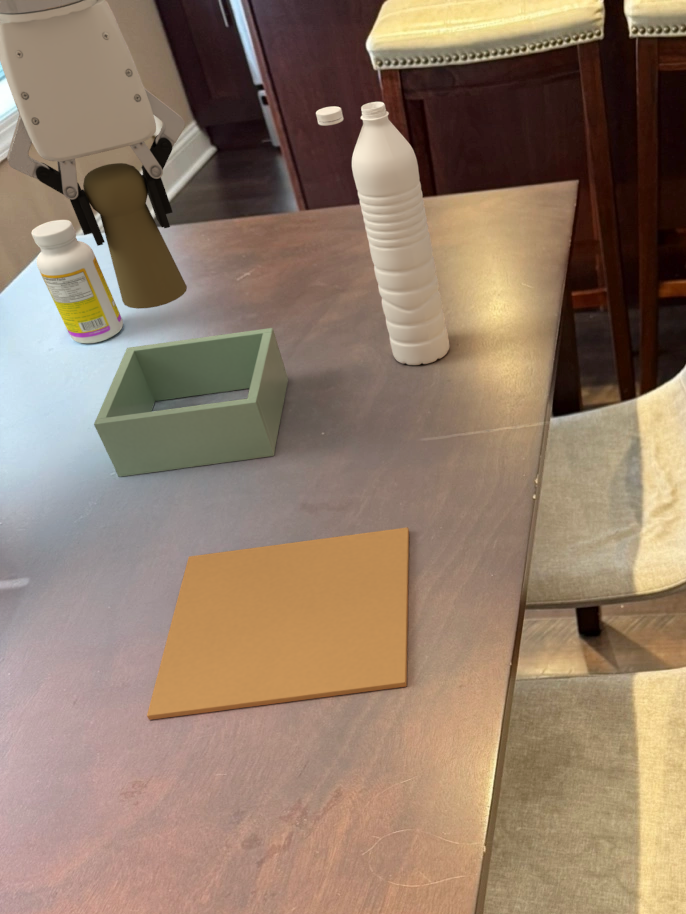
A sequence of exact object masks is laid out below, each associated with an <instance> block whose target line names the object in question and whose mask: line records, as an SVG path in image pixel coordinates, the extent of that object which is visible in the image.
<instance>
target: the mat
mask: <svg viewBox="0 0 686 914" xmlns="http://www.w3.org/2000/svg"><path fill="white" fill-rule="evenodd" d="M409 558H410V529H409V527H408V526H407V527H406V526H405V527H401V528H392V529H383V530H377V531H370V532H362V533H354V534H347V535H340V536H333V537H324V538H317V539H316V538H315V539H310V540H302V541H295V542H294V541H293V542H287V543H279V544H272V545H265V546H257V547H256V546H255V547H250V548H241V549H235V550H227V551H219V552H213V553H212V552H211V553H205V554H199V555H198V554H196V555H190V556H188V557H187V562H186V565H185V568H184V569H185V570H184V573H183V577H182V581H181V585H180V588H179V592H178V595H177V598H176V599H177V600H176V603H175V607H174V610H173V611H174V612H173V614H172V618H171V622H170V626H169V629H168V633H167V638H166V642H165V644H164V649H163V651H162V652H163V653H162V657H161V661H160V664H159V668H158V672H157V675H156V679H155V684H154V687H153V690H152V693H151V694H152V695H151V698H150V702H149V707H148V710H147V714H146V717H147V719H148V720H149V721H151V720H159V719H166V718H175V717H182V716H183V717H184V716H191V715H196V714H197V715H198V714H205V713H214V712H221V711H228V710H237V709H244V708H251V707H259V706H267V705H275V704H282V703H289V702H297V701H305V700H306V701H307V700H313V699H320V698H328V697H335V696H337V697H338V696H344V695H352V694H358V693H367V692H376V691H381V690H389V689H396V688H404V687H407V684H408V683H407V682H408V631H409V629H408V628H409V627H408V625H409V623H408V622H409V621H408V620H409V566H410V565H409V563H410V561H409V560H410V559H409Z"/></svg>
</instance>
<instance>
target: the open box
mask: <svg viewBox="0 0 686 914" xmlns="http://www.w3.org/2000/svg"><path fill="white" fill-rule="evenodd" d="M288 382H289V376H288V373H287V370H286V366H285V364H284V360H283V356H282V353H281V349H280V347H279V344H278V340H277V337H276V335H275V330H274V328H273V327H269V328H261V329H253V330H247V331H246V330H245V331H240V332H233V333H225V334H217V335H211V336H210V335H209V336H203V337H197V338H189V339H182V340H181V339H180V340H173V341H168V342H167V341H166V342H160V343H159V342H158V343H153V344H144V345H137V346H130V347H126V350H125V352H124V354H123V356H122V358H121V361H120V363H119V365H118V367H117V370H116V373H115V374H114V377H113V379H112V382H111V383H110V386H109V388H108V390H107V393H106V395H105V398H104V400H103V402H102V404H101V407H100V408H99V411H98V414H97V416H96V418H95V420H94V423H93V426H94V428H95V430H96V432H97V434H98V437H99V438H100V441H101V442H102V446H103V447H104V449H105V451H106V453H107V456H108V457H109V459H110V462H111V464H112V466H113V468H114V470H115V472H116V474H117V477H118V478H119V477H128V476H136V475H143V474H150V473H156V472H158V473H159V472H165V471H172V470H179V469H187V468H188V469H189V468H195V467H201V466H209V465H216V464H217V465H218V464H223V463H224V464H225V463H230V462H231V463H232V462H239V461H247V460H253V459H262V458H269V457H274V456H275V451H276V445H277V440H278V435H279V429H280V424H281V419H282V414H283V408H284V404H285V398H286V394H287V393H286V392H287V387H288ZM247 389H248V394H247V398H241V399H235V400H227V401H220V402H218V401H217V402H212V403H204V404H197V405H191V406H183V407H176V408H169V409H161V410H160V409H159V410H155V411H153V409H154V405H155V403H156V402H158V401H159V402H160V401H166V400H173V399H181V398H182V399H183V398H188V397H189V398H190V397H195V396H204V395H209V394H210V395H211V394H218V393H224V392H225V393H226V392H232V391H240V390H247Z"/></svg>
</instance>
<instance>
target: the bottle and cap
mask: <svg viewBox="0 0 686 914" xmlns="http://www.w3.org/2000/svg"><path fill="white" fill-rule="evenodd" d="M360 109H361V110H360V111H361V116H360V120H362V126H361V129H360V132H359V135H358V137H357V140H356V144H355V146H354V149H353V152H352V155H351V156H352V157H351V170H352V176H353V180H354V183H355V187H356V190H357V197H358V200H359V205H360V209H361V214H362V216H363V217H362V219H363V224H364V228H365V232H366V237H367V240H368V246H369V253H370V258H371V261H372V263H373V265H374V266H373V270H374V276H375V279H376V282H377V284H378V285H377V287H378V294H379V296H380V297H381V307H382V312H383V315H384V317H385V325H386V329H387V333H388V335H389V343H390V348H391V352H392V356H393V358H394V359H395V360H396V361H397V362H398V363H400V364H403V365H404V364H406V365H408V366H420V365H421V364H423V365H427V364H432V363H433V362H434V363H435V362H436V361H437V360H439V359H440V360H441V359H442V358H443V357H445V356H446V355H447V353H448V352H449V350H450V340H449V334H448V329H447V326H446V319H445V313H444V312H445V311H444V308H443V299H442V296H441V292H440V290H439V288H440V285H439V284H440V283H439V279H438V276H437V267H436V262H435V261H436V260H435V257H434V255H433V252H434V250H433V244H432V239H431V234H430V231H429V224H428V218H427V215H426V214H427V213H426V207H425V200H424V198H423V196H424V195H423V191H422V184H421V181H420V172H419V164H418V159H417V156H416V153H415V150H414V148H413V147H412V145H411V144H410V143H409V141H408V140H407V139H406V137H404V135H403V134H402V133H401V132H400V131H399V130H398V128H397V127H396V126H395V125H394V124H393V123H392V121H391V120H390V119H389V114H390V112H389V111H388V110H387V109H386V104H385V103H384V102H383V101H371V102H368V103H365V104H363V105H362V106H361V107H360ZM315 116H316V119H317V120H316V121H317V124H318V125H319V126H334V125H337V124H339V123H342V122H343V121H344V115H343V110H342V107H339V106H335V105H334V106H326V107H322V108H320V109H318V110H316V112H315Z"/></svg>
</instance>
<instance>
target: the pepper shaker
mask: <svg viewBox="0 0 686 914" xmlns="http://www.w3.org/2000/svg"><path fill="white" fill-rule="evenodd" d="M142 175H143V174H141V172H140V171H139V170H138V169H137V168H136V166H134V165H132V164H128V163H123V162H118V163H117V162H116V163H108V164H104V165H101V166H98V167H95V168H93V169H92V170H90V171H89V172H88V173H87V174H86V175H85V176H84V178H83V184H82V187H83V190H84V193H85V194H86V196H87V198H88V201H89V203H90V206H91V208H92V210H94V211H95V212H96V213H98V214H99V217H100V220H101V224H102V228H103V232H104V235H105V240H106V243H107V247H108V251H109V255H110V258H111V262H112V266H113V271H114V274H115V278H116V281H117V286H118V289H119V293H120V297H121V300H122V303H123V305H124V306H126V307H127V308H130V309H137V310H138V309H151V308H157V307H160V306H164V305H168V304H170V303H172V302H174V301H176V300H178V299H179V298H181V297H182V296H183V295H184V294H186V292H187V288H188V286H187V284H186V281H185V279H184V278H183V276H182V274H181V272H180V269H179V267H178V266H177V263H176V261H175V259H174V257H173V256H172V253H171V252H170V249H169V247H168V245H167V243H166V241H165V239H164V237H163V235H162V233H161V231H160V229H159V227H158V224H157V223H156V221H155V219H154V217H153V215H152V213H151V210H150V208H149V207H148V204H147V199H148V197H149V196H148V192H147V186H146V183H145V181H144V178H143V177H142Z"/></svg>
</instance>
